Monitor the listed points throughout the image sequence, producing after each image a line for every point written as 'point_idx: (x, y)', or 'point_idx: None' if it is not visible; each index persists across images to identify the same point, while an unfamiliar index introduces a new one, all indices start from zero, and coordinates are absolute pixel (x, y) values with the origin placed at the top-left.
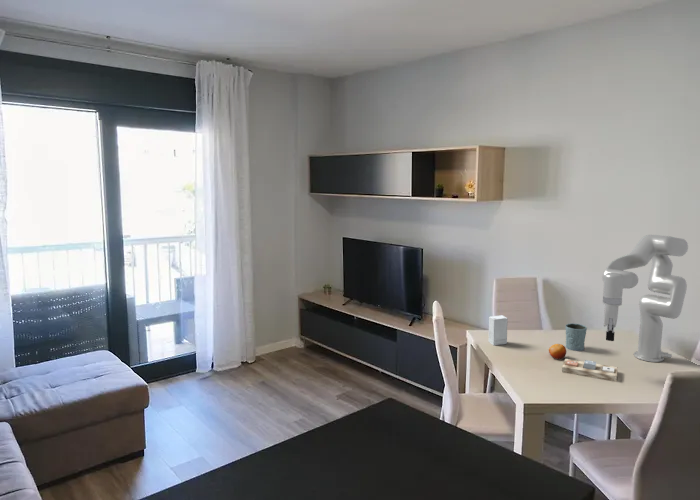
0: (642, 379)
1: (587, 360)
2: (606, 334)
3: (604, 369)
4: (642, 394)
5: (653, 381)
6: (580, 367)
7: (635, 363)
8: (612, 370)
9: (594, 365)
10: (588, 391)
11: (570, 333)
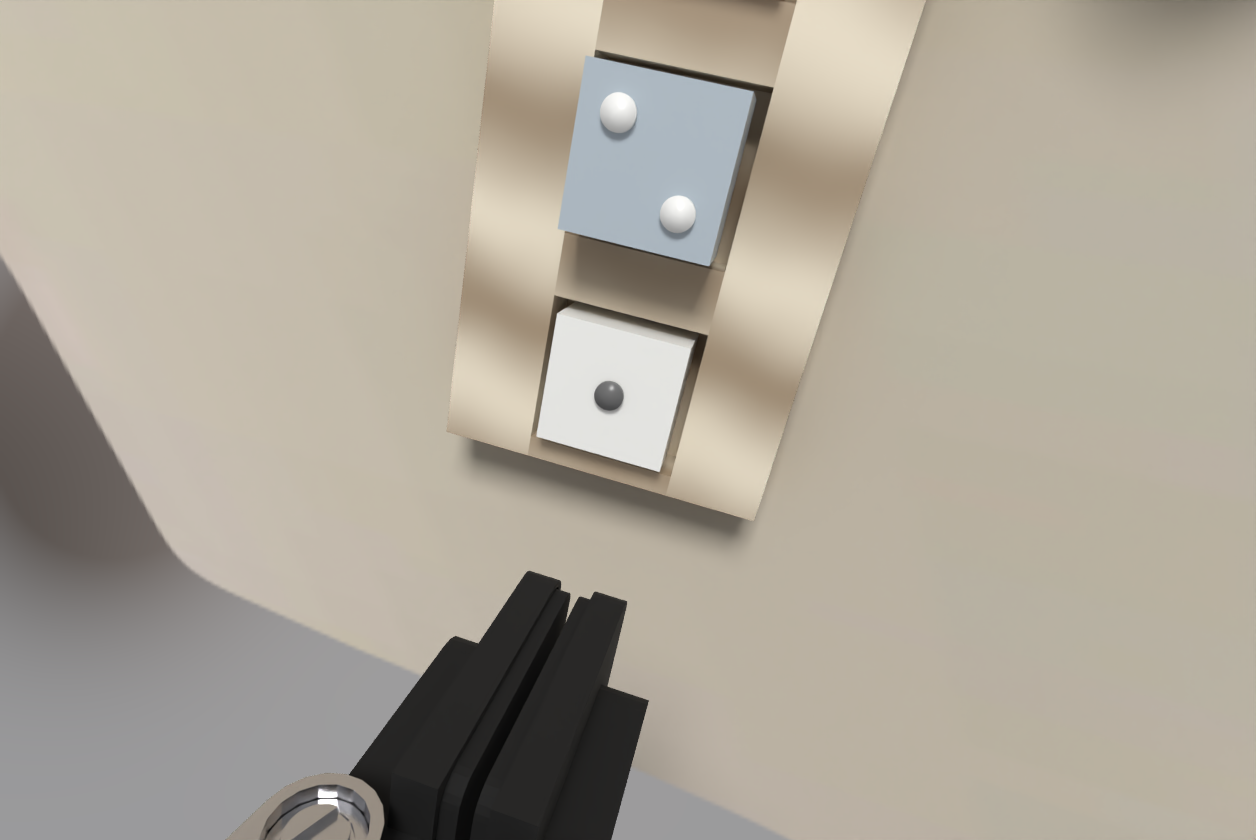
0: (619, 654)
1: (738, 131)
2: (452, 691)
3: (565, 340)
4: (276, 542)
5: None
6: (603, 13)
7: (1109, 755)
8: (563, 427)
9: (562, 216)
10: (98, 73)
11: None
